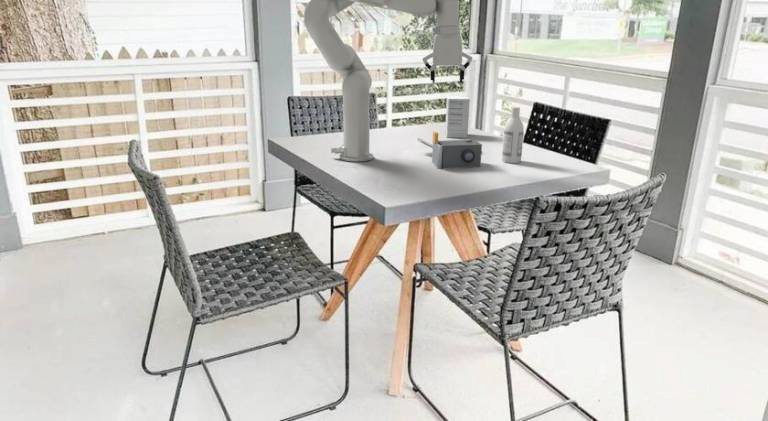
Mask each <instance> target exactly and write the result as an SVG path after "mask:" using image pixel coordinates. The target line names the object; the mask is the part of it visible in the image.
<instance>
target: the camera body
mask: <svg viewBox="0 0 768 421" xmlns="http://www.w3.org/2000/svg"><path fill="white" fill-rule="evenodd" d="M438 144H439V145H441V146H442V167H441V169H451V168H452V169H453V168H456V169H457V168H480V167H481V164H482V153H481V151H483V150H482V148H483V144H482V143H480V142H479V141H477V140H476V139H471V138H464V139H456V140H455V139H454V140H453V139H452V140H448V139H447V140H438Z"/></svg>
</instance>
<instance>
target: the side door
mask: <svg viewBox="0 0 768 421" xmlns="http://www.w3.org/2000/svg"><path fill="white" fill-rule="evenodd" d="M438 141H439V132H437V131H432V145H433V148H432V151H431V153H432V154H431V155H432V156H431V162H432V163H433V164H434V165H435V166H436V167H437V169H439V170H441V169H442V146H441V145H439V144H438Z"/></svg>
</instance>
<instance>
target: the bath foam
mask: <svg viewBox="0 0 768 421" xmlns="http://www.w3.org/2000/svg"><path fill="white" fill-rule="evenodd" d="M510 113H511V114H510V118H509V119H508V120H507V121H506V123H505V125H504V129H503V130H504V131H503V139H502V140H503V141H502V154H501V156H502V157H501V160H502V162H503V163H506V164H519V163H521V162H522V154H523V144H524V142H523V141H524V125H523V122H522V120H521V118H520V113H521V107H520V106H512V107H511V111H510Z"/></svg>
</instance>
